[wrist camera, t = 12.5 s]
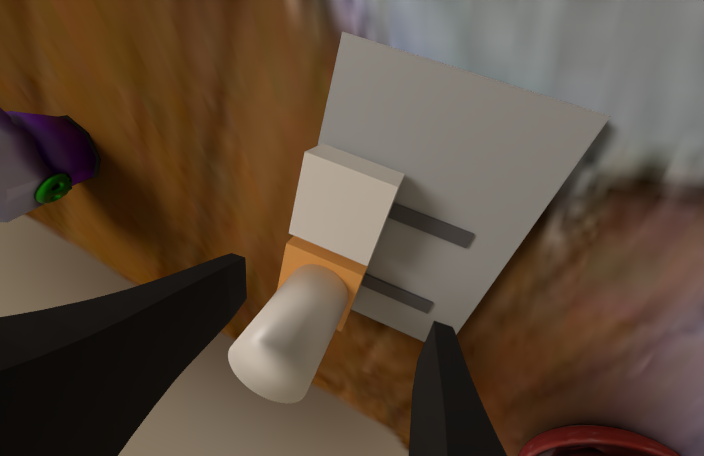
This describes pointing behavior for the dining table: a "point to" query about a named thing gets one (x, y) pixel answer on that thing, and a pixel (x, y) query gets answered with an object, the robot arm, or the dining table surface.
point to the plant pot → (593, 443)
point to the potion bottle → (41, 160)
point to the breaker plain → (343, 202)
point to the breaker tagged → (310, 253)
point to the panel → (447, 175)
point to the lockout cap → (290, 335)
